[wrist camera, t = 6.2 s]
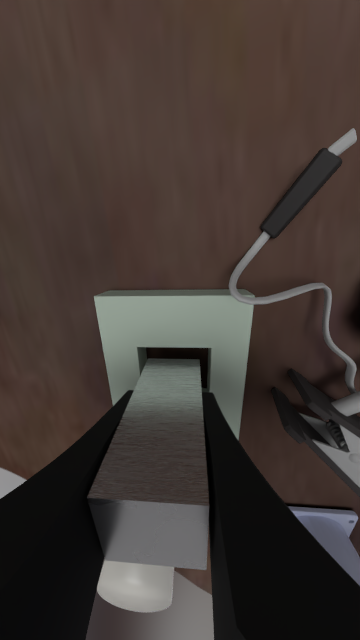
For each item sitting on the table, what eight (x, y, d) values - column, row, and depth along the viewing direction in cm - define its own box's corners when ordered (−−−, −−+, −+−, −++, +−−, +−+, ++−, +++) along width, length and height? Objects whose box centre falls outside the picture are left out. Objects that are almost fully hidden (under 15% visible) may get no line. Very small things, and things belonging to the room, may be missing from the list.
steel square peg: (198, 401, 12) (206, 570, 6) (151, 399, 12) (105, 560, 6) (199, 359, 11) (209, 506, 5) (147, 358, 11) (86, 497, 5)
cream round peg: (179, 489, 19) (172, 616, 12) (133, 485, 19) (102, 606, 12) (180, 457, 17) (171, 582, 11) (130, 453, 17) (91, 572, 11)
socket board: (232, 420, 15) (238, 443, 13) (127, 416, 16) (118, 437, 14) (244, 289, 12) (254, 295, 10) (108, 290, 12) (93, 296, 10)
